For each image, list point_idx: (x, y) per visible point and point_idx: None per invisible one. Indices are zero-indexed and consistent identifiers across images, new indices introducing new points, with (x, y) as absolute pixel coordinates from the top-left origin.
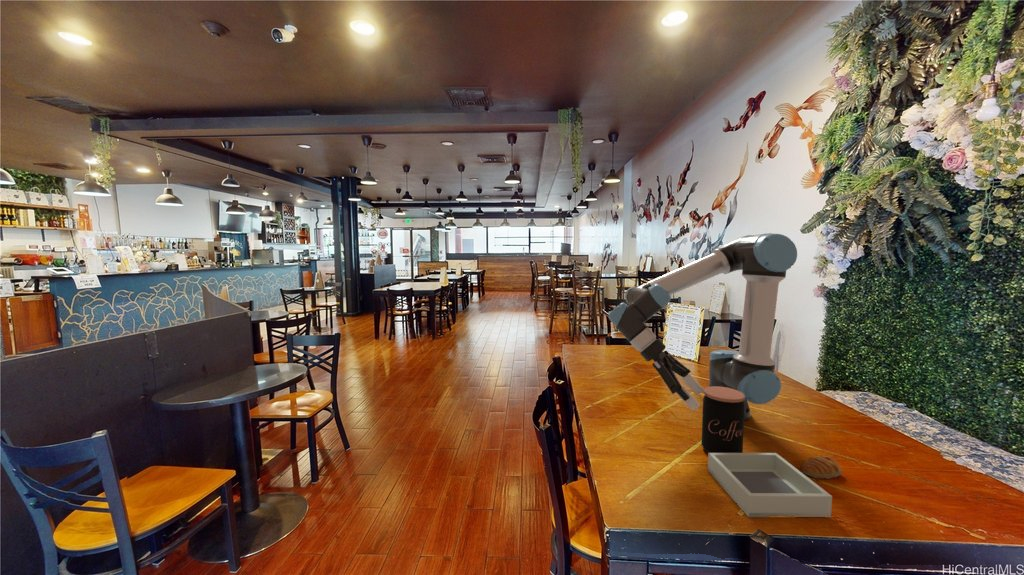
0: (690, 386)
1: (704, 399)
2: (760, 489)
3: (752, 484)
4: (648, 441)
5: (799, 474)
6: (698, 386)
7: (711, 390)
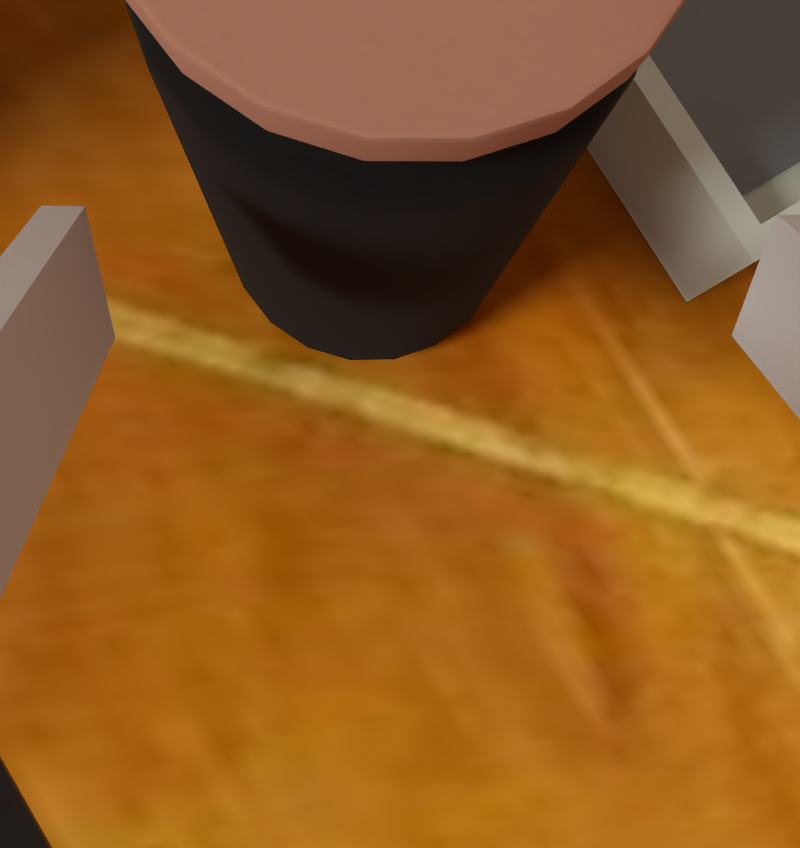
0: (65, 426)
1: (506, 181)
2: (790, 23)
3: (762, 58)
4: (506, 743)
5: None
6: (57, 281)
7: (412, 11)
